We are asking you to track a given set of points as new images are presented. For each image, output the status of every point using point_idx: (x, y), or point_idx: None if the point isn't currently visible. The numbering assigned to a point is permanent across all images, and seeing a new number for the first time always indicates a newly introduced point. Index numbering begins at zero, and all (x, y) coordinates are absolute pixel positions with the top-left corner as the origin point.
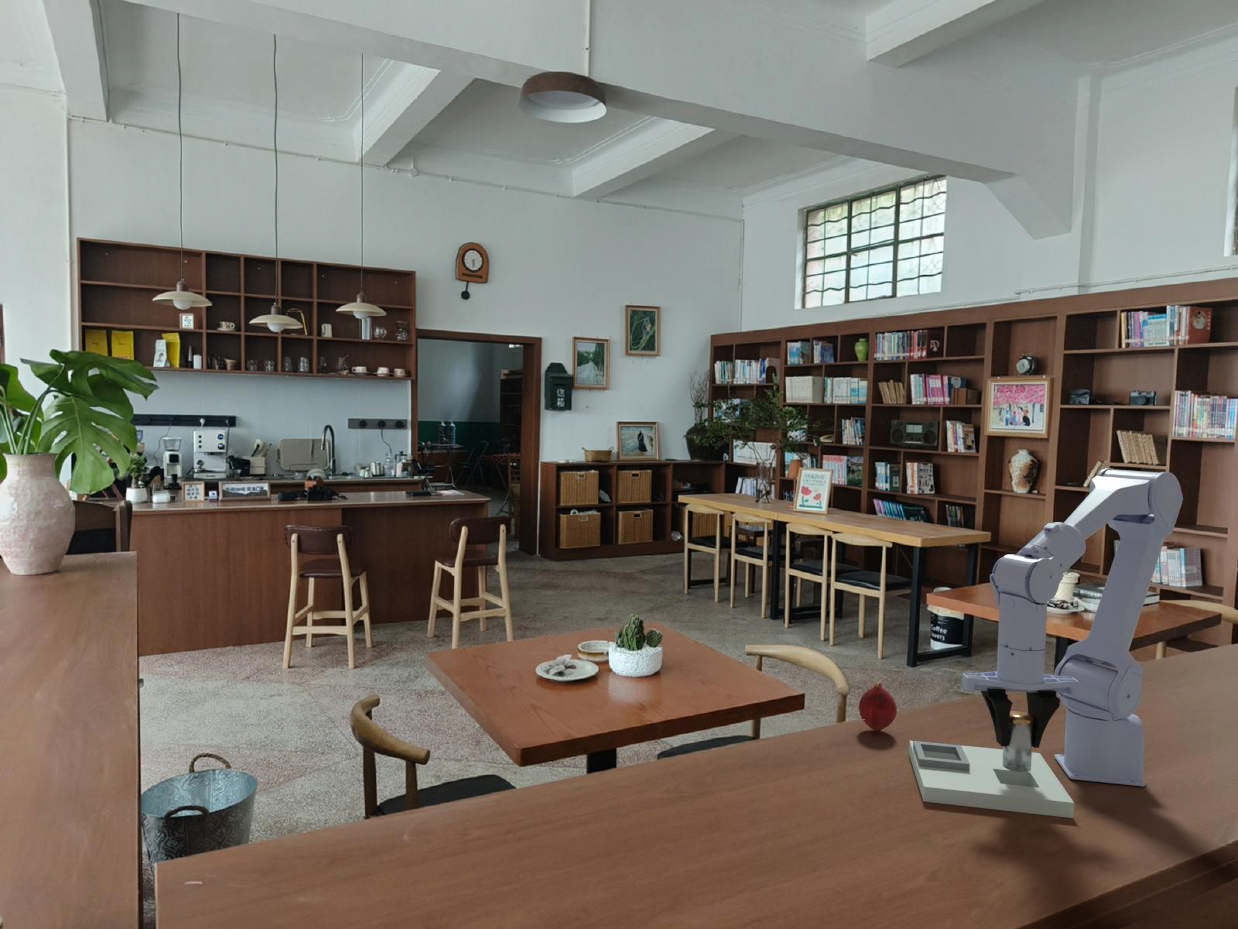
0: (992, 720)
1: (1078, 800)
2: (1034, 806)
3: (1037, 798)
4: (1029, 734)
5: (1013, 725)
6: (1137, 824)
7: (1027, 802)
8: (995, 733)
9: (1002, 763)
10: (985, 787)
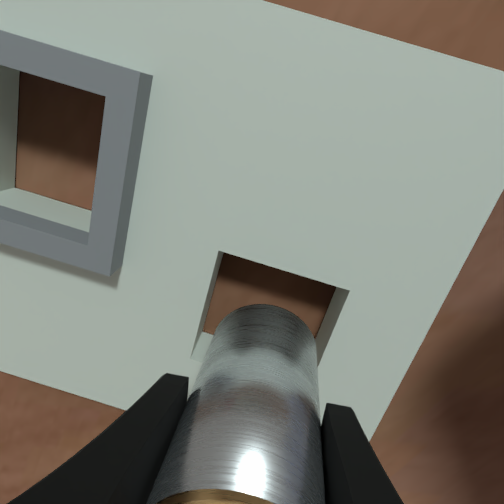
0: (92, 441)
1: (443, 360)
2: None
3: None
4: None
5: None
6: (498, 482)
7: None
8: (145, 393)
9: (214, 333)
10: (129, 378)
